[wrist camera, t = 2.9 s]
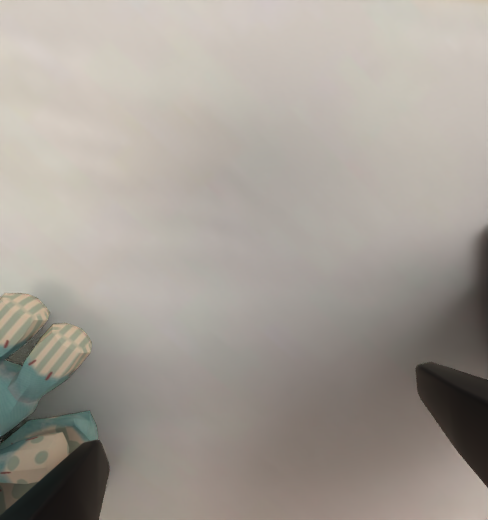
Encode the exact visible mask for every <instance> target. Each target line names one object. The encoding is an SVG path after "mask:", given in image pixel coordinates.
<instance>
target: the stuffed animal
mask: <svg viewBox="0 0 488 520" xmlns="http://www.w3.org/2000/svg"><path fill="white" fill-rule="evenodd" d="M49 314H50V312H49V311H48V309H47V308H46V307H45V306H44V305H43V304H42V302H41V301H40V300H39V299H38V298H36V297H33V296H31V295H29V294H22V293H5V294H4V295H3V296H2V297H1V298H0V437H1V436H3V435H4V434H6V433H7V432H9V431H10V430H12V429H13V428H14V427H15V426H17V425H18V424H19V423H20V422H21V421H23V420H24V419H25V418H26V417H28V416H29V415H30V414H32V413H33V412H34V411H35V408H36V406H37V404H38V402H39V400H40V399H41V398H42V397H43V396H44V395H45V394H46V393H48V392H49V391H51V390H53V389H54V388H56V387H57V386H59V385H60V384H61V383H63V382H64V381H66V380H67V379H68V378H69V377H70V376H71V375H72V374H73V373H74V372H75V370H76V369H77V368H78V367H79V366H80V365H81V364H82V362H83V361H84V360H85V359H86V357H87V356H88V355H89V354H90V352H91V345H92V342H91V341H90V339H89V337H88V336H87V334H86V333H85V332H84V331H83V330H82V329H81V328H78V327H76V326H74V325H71V324H67V323H61V324H53V325H52V326H51V327H50V328H49V329H48V330H47V332H46V333H45V334H44V335H43V336H42V337H41V339H40V340H39V341H38V343H37V344H36V346H35V347H34V349H33V350H32V352H31V353H30V355H29V356H28V357H27V359H26V360H25V361H24V364H23V366H22V367H21V366H20V365H19V364H15V363H12V362H9V361H6V360H5V359H6V358H8V357H9V356H10V355H11V354H13V353H14V352H15V351H16V350H18V349H19V348H20V347H22V346H23V345H24V344H25V343H26V342H27V341H29V340H30V339H31V338H32V337H33V336H34V335H35V334H36V333H37V332H38V331H39V330H40V329H41V327H42V326H43V325H44V324H45V323H46V322H47V321H48V317H49ZM96 439H97V440H98V432H97V426H96V423H95V421H94V419H93V417H92V415H91V412H90V411H85V412H80V413H75V414H68V415H62V416H55V417H49V418H42V419H35V420H29V421H27V422H26V423H25V424H24V425H23V426H21V427H20V428H19V429H18V430H17V431H16V432H14V433H13V434H12V435H11V436H10V437H8V438H7V439H6V440H5V441H4V442H2V443H1V444H0V515H1V514H2V513H3V512H4V511H6V510H7V509H8V508H9V507H10V506H11V505H12V504H14V503H15V502H16V501H17V500H18V499H19V498H20V497H22V496H23V495H24V494H25V493H26V492H27V491H28V490H29V489H31V488H32V487H33V486H34V485H35V484H36V483H37V482H39V481H40V480H41V479H42V478H43V477H44V476H45V475H47V474H48V473H49V472H50V471H51V470H52V469H53V468H55V467H56V466H57V465H58V464H59V463H60V462H61V461H62V460H64V459H65V458H66V457H67V456H68V455H69V454H70V453H72V452H73V451H74V450H75V449H76V448H77V447H78V446H80V445H81V444H82V443H84V442H87V441H92V440H96Z"/></svg>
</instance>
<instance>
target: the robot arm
mask: <svg viewBox="0 0 488 520" xmlns="http://www.w3.org/2000/svg"><path fill="white" fill-rule="evenodd" d="M416 382H417V391H418V394H419V397H420V399H421V400H422V402H423V403H424V405H425V406H426V407H427V409H428V410H429V412H430V413H431V415H432V416H433V417H434V419H435V420H436V422H437V423H438V425H439V426H440V427H441V429H442V430H443V432H444V433H445V435H446V436H447V437H448V439H449V440H450V442H451V443H452V444H453V446H454V447H455V448H456V450H457V451H458V453H459V454H460V455H461V456H462V457H463V459H464V460H465V461H466V462H467V464H468V465H469V466H470V467H471V468H472V469H473V471H474V472H475V473H476V474H477V475H478V477H479V478H480V479H481V480H482V481H483V483H484V484H485V485H486V486H487V487H488V380H487V379H483V378H480V377H477V376H474V375H471V374H468V373H464V372H461V371H458V370H455V369H452V368H449V367H445V366H442V365H439V364H436V363H433V362H428V363H423V364H419V365H417V366H416ZM108 476H109V462H108V459H107V457H106V454H105V451H104V449H103V446H102V443H101V442H100V440H97V439H96V440H92V441H87V442H84V443H82V444H81V445H80V446H78V447H77V448H76V449H75V450H74V451H73V452H72V453H70V454H69V455H68V456H67V457H66V458H65V459H64V460H62V461H61V462H60V463H59V464H58V465H57V466H56V467H55V468H53V469H52V470H51V471H50V472H49V473H48V474H47V475H45V476H44V477H43V478H42V479H41V480H40V481H39V482H37V483H36V484H35V485H34V486H33V487H32V488H31V489H29V490H28V491H27V492H26V493H25V494H24V495H23V496H22V497H20V498H19V499H18V500H17V501H16V502H15V503H14V504H12V505H11V506H10V507H9V508H8V509H7V510H6V511H4V512H3V513H2V514H1V515H0V520H99V516H100V512H101V507H102V503H103V498H104V494H105V489H106V485H107V480H108Z"/></svg>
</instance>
